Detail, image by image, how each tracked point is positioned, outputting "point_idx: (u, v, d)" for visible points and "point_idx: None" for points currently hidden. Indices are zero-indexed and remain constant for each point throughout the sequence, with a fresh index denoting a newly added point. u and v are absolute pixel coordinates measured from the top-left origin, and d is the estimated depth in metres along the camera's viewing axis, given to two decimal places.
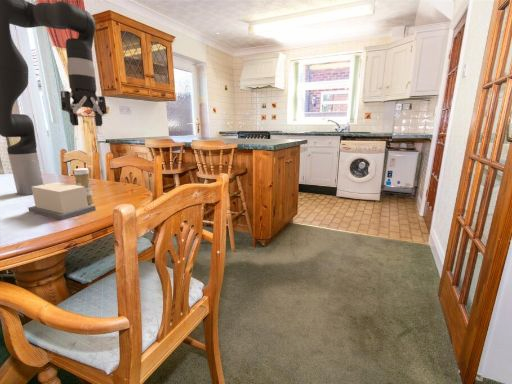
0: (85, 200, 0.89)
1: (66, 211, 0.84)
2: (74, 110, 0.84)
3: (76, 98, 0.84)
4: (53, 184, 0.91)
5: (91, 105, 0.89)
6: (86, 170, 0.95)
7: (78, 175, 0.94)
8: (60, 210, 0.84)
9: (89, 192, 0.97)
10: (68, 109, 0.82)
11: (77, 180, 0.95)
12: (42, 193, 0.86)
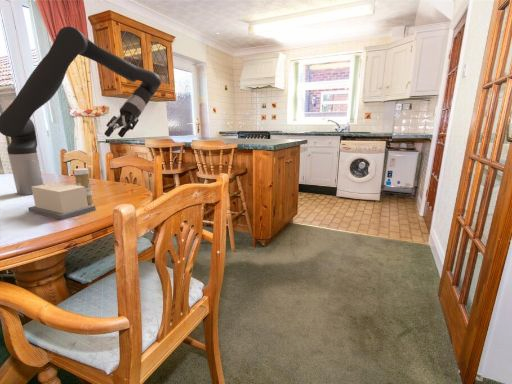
0: (85, 200, 0.89)
1: (66, 211, 0.84)
2: None
3: None
4: (53, 184, 0.91)
5: None
6: (86, 170, 0.95)
7: (78, 175, 0.94)
8: (60, 210, 0.84)
9: (89, 192, 0.97)
10: None
11: (77, 180, 0.95)
12: (42, 193, 0.86)
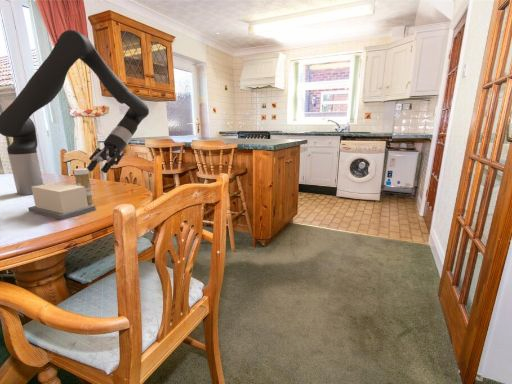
0: (85, 200, 0.89)
1: (66, 211, 0.84)
2: None
3: None
4: (53, 184, 0.91)
5: None
6: (86, 170, 0.95)
7: (78, 175, 0.94)
8: (60, 210, 0.84)
9: (89, 192, 0.97)
10: (116, 164, 1.01)
11: (77, 180, 0.95)
12: (42, 193, 0.86)
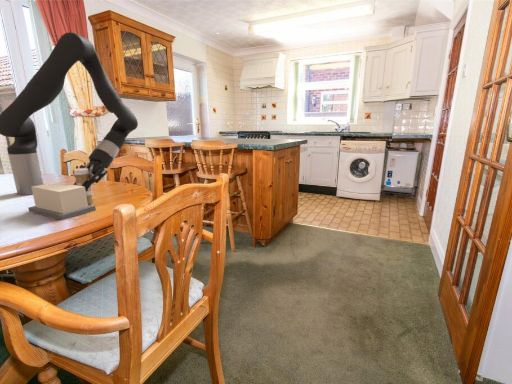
0: (85, 200, 0.89)
1: (66, 211, 0.84)
2: None
3: None
4: (53, 184, 0.91)
5: None
6: (86, 170, 0.95)
7: (78, 176, 0.94)
8: (60, 210, 0.84)
9: (89, 192, 0.97)
10: None
11: (77, 180, 0.95)
12: (42, 193, 0.86)
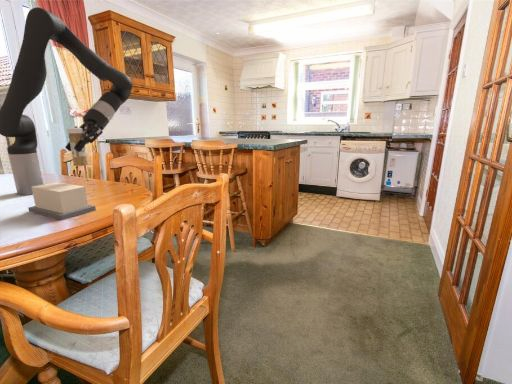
0: (85, 200, 0.89)
1: (66, 211, 0.84)
2: None
3: None
4: (53, 184, 0.91)
5: None
6: (80, 129, 0.92)
7: (72, 134, 0.90)
8: (60, 210, 0.84)
9: (83, 153, 0.94)
10: (91, 142, 0.93)
11: (71, 139, 0.91)
12: (42, 193, 0.86)
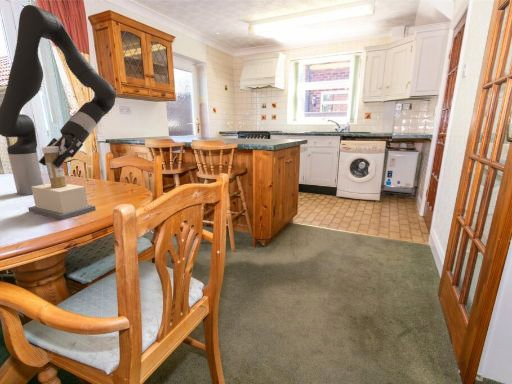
0: (85, 200, 0.89)
1: (66, 211, 0.84)
2: None
3: None
4: None
5: None
6: (56, 148, 0.85)
7: (47, 154, 0.83)
8: (60, 210, 0.84)
9: (61, 173, 0.87)
10: (72, 156, 0.86)
11: (46, 159, 0.84)
12: (42, 193, 0.86)
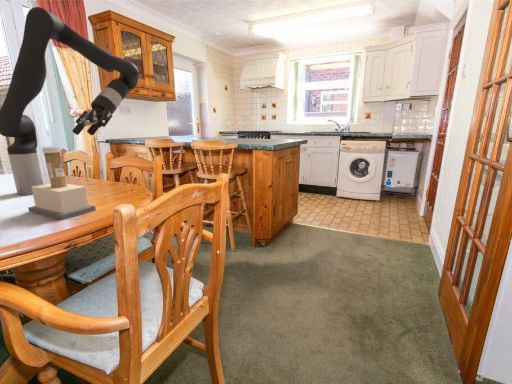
0: (85, 200, 0.89)
1: (66, 211, 0.84)
2: None
3: None
4: None
5: None
6: (57, 148, 0.85)
7: (47, 154, 0.84)
8: (60, 210, 0.84)
9: (61, 173, 0.87)
10: (104, 126, 0.94)
11: (46, 159, 0.84)
12: (42, 193, 0.86)
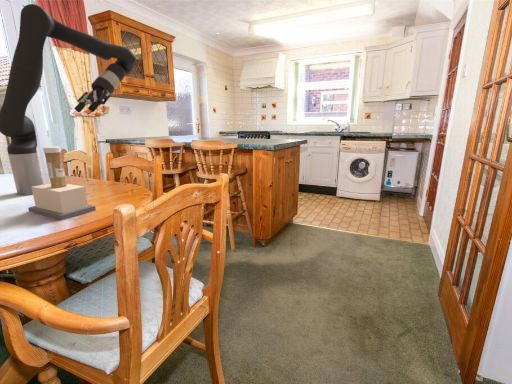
0: (85, 200, 0.89)
1: (66, 211, 0.84)
2: None
3: (102, 97, 1.07)
4: None
5: None
6: (57, 148, 0.85)
7: (48, 154, 0.84)
8: (60, 210, 0.84)
9: (61, 173, 0.87)
10: (103, 104, 1.04)
11: (47, 159, 0.84)
12: (42, 193, 0.86)
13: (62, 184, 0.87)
